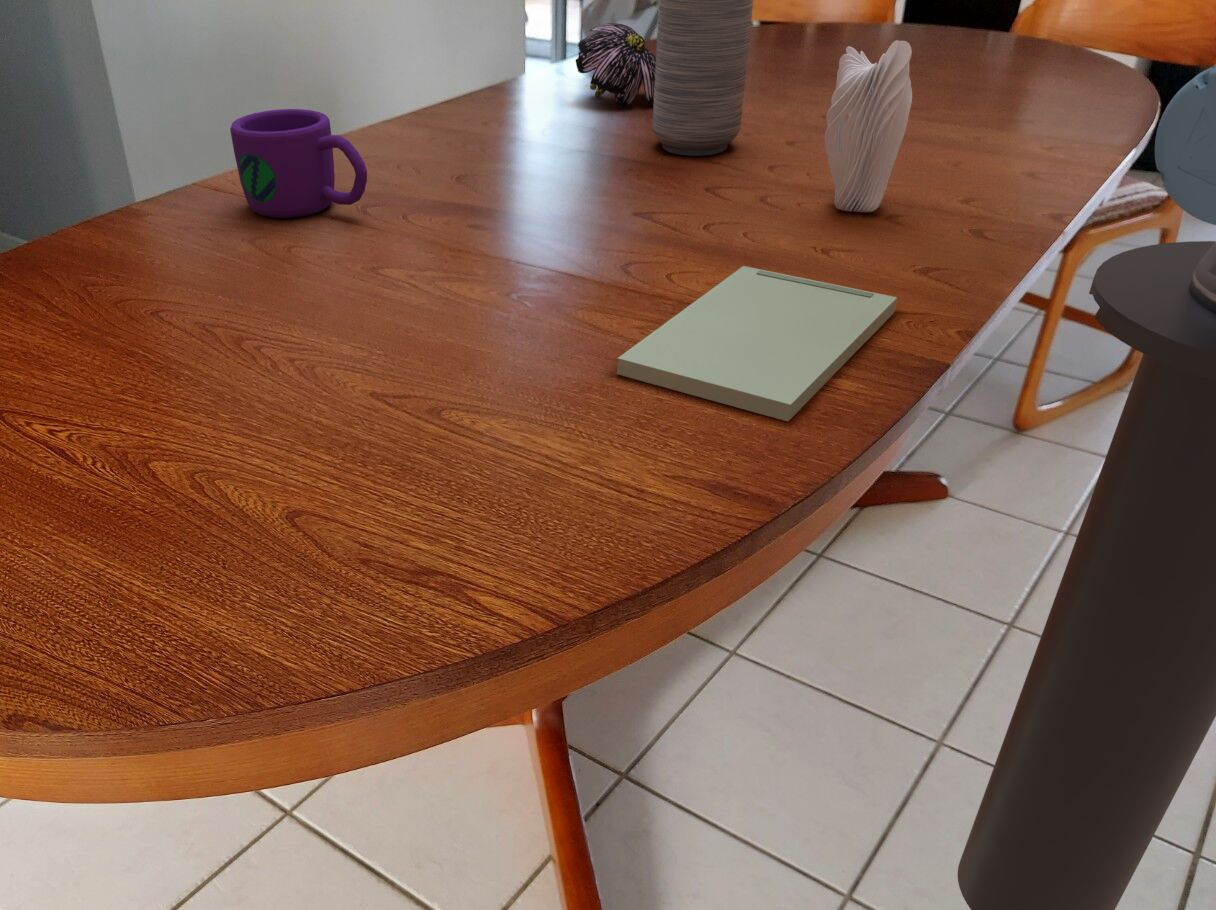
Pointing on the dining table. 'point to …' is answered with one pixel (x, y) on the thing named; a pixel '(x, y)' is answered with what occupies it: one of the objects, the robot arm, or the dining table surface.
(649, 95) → the decorative flower
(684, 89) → the vase
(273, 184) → the mug
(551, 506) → the dining table surface
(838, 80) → the shell sculpture
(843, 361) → the cutting board
